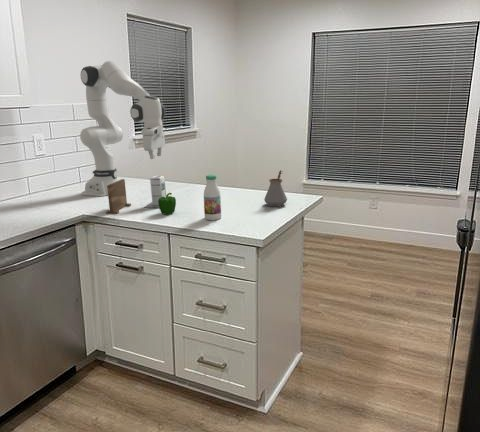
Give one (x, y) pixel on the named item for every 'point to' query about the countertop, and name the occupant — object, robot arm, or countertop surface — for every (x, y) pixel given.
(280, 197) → the coffee pot
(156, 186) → the syrup box
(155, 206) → the coaster
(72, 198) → the countertop surface
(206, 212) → the milk bottle
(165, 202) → the bell pepper
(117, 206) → the brown wooden display stand
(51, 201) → the countertop surface
